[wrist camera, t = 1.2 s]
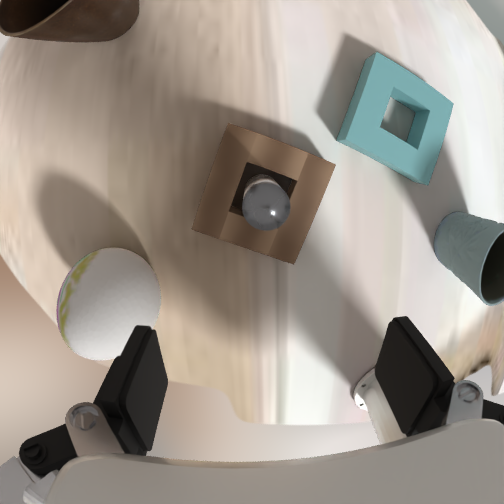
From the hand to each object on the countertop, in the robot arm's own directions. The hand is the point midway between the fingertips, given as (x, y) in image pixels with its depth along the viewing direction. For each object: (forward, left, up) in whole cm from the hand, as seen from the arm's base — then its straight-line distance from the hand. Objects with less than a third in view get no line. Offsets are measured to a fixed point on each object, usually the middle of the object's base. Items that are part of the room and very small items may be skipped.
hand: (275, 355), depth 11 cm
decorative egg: (+14, +14, -25) cm, 32 cm away
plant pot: (+28, -20, -25) cm, 42 cm away
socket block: (-11, -18, -25) cm, 33 cm away
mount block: (+1, -3, -25) cm, 25 cm away
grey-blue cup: (-28, -8, -25) cm, 39 cm away
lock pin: (+1, -3, -25) cm, 25 cm away
